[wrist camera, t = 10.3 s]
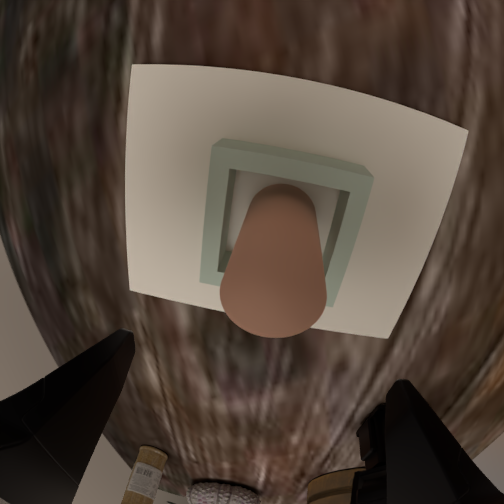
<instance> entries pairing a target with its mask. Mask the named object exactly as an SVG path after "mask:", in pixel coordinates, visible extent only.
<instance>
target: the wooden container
mask: <svg viewBox="0 0 504 504" xmlns="http://www.w3.org/2000/svg"><path fill="white" fill-rule="evenodd" d="M363 470H366V469H365V468H355V469H348V470H342V471H337V472H333V473H329V474H326V475H323V476H320V477H318V478H316V479H314V480H312V481H311V482H310V483H309V484H308V493H307V504H350V501H351V493H352V483H353V478H354V473H355V472H356V471H363Z"/></svg>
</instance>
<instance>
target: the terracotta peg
mask: <svg viewBox="0 0 504 504" xmlns="http://www.w3.org/2000/svg"><path fill="white" fill-rule="evenodd" d="M220 300H221V304H222V307H223V309H224V311H225V312H226V314H227V315H228V317H229V318H230V319H231V320H232V321H233V322H234V323H235V324H236V325H238V326H239V327H240V328H242V329H244V330H245V331H248V332H250V333H252V334H255V335H258V336H262V337H269V338H283V337H289V336H293V335H296V334H299V333H301V332H303V331H305V330H307V329H308V328H310V327H311V326H312V325H314V324H315V323H316V322H317V320H318V319H319V318H320V317H321V315H322V314H323V311H324V309H325V306H326V302H327V290H326V282H325V274H324V266H323V259H322V251H321V244H320V237H319V230H318V224H317V217H316V211H315V207H314V204H313V202H312V200H311V199H310V197H309V196H308V195H307V194H306V193H305V192H304V191H302V190H301V189H299V188H298V187H295V186H293V185H289V184H274V185H270V186H267V187H265V188H263V189H262V190H260V191H259V192H258V193H257V194H256V195H255V196H254V197H253V199H252V201H251V203H250V205H249V208H248V211H247V213H246V216H245V219H244V221H243V224H242V227H241V229H240V232H239V235H238V238H237V240H236V243H235V246H234V248H233V251H232V254H231V256H230V259H229V262H228V265H227V267H226V270H225V273H224V276H223V278H222V281H221V285H220Z"/></svg>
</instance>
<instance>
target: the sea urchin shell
mask: <svg viewBox="0 0 504 504" xmlns="http://www.w3.org/2000/svg"><path fill="white" fill-rule="evenodd" d="M186 493H187V495H186V497H187V500H188V503H189V504H260V503H261V501H260V500H259V497H257V494H255V493H254V492H252V491H251V490H247V489H246V488H242V487H239V486H230V485H229V484H228V485H227V484H218V483H217V482H216V483H214V482H213V483H207V482H206V483H201V482H200V483H199V484H195V485H193V486H192V485H191V487H190V488H188V491H187V492H186Z"/></svg>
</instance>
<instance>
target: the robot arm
mask: <svg viewBox="0 0 504 504" xmlns="http://www.w3.org/2000/svg"><path fill="white" fill-rule="evenodd" d="M134 354H135V342H134V335H133V332H132V331H130V330H127V329H123V328H121V329H119V330H117V331H116V332H114V333H113V334H111V335H109V336H108V337H106V338H105V339H103V340H102V341H100V342H98V343H97V344H95V345H94V346H92V347H90V348H89V349H87V350H86V351H84V352H83V353H81V354H79V355H78V356H76V357H75V358H73V359H72V360H70V361H68V362H67V363H65V364H64V365H62V366H61V367H59V368H57V369H56V370H54V371H53V372H51V373H50V374H48V375H47V376H45V378H42V379H40V380H38V381H37V382H36V383H34V384H32V385H30V386H29V387H27V388H25V389H23V390H22V391H20V392H18V393H16V394H14V395H12V396H10V397H8V398H6V399H4V400H2V401H0V504H72V501H73V499H74V497H75V494H76V492H77V489H78V487H79V486H78V485H79V484H80V482H81V479H82V477H83V475H84V472H85V470H86V467H87V465H88V463H89V461H90V458H91V456H92V454H93V452H94V449H95V447H96V445H97V443H98V441H99V438H100V436H101V434H102V432H103V430H104V427H105V425H106V423H107V421H108V419H109V417H110V414H111V412H112V410H113V408H114V406H115V404H116V402H117V400H118V398H119V395H120V393H121V391H122V388H123V386H124V383H125V380H126V377H127V374H128V371H129V368H130V365H131V362H132V360H133V357H134ZM356 436H357V437H359V442H360V456H361V460H362V461H365V469H366V470H363V471H356V472H355V473H354V478H353V483H352V493H351V501H350V504H504V494H503V493H501V492H500V491H499V490H498V489H497V488H496V487H495V486H494V485H493V484H492V482H491V481H490V480H489V479H488V478H487V477H486V476H485V475H484V474H483V473H482V471H481V470H480V469H479V468H478V467H477V466H476V465H475V463H474V462H473V461H472V460H471V458H470V457H469V456H468V455H467V453H466V452H465V451H464V449H463V448H461V446H460V444H459V443H458V442H457V440H456V439H455V438H454V436H453V435H452V434H451V433H450V431H449V430H448V429H447V427H446V426H445V425H444V424H443V422H442V421H441V420H440V418H439V417H438V416H437V415H436V413H435V412H434V411H433V410H432V408H431V407H430V406H429V404H428V403H427V402H426V401H425V399H424V398H423V397H422V396H421V394H420V393H419V392H418V391H417V389H416V388H415V387H414V386H413V385H412V383H411V382H410V381H409V380H407V379H398V380H396V381H395V383H394V384H393V386H392V387H391V388H390V390H389V391H388V393H387V395H386V405H379V406H377V407H376V409H375V410H374V411H373V413H372V414H371V415H370V416H369V418H368V419H367V420H366V421H365V423H364V424H363V425H362V426H361V428H360V429H359V430H358V431H357V433H356Z"/></svg>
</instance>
